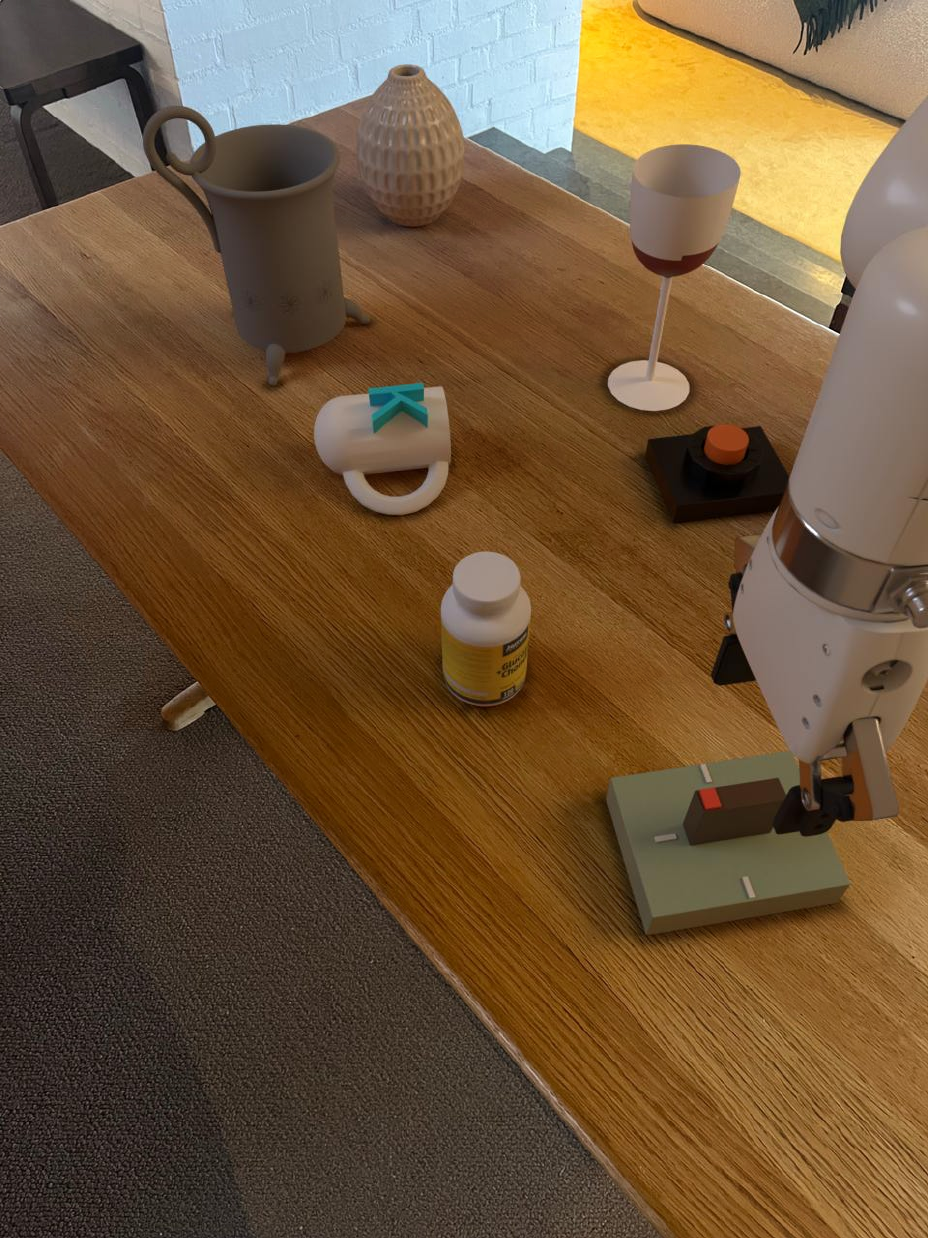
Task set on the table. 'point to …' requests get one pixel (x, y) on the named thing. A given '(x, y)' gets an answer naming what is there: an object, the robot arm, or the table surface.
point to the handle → (733, 811)
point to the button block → (715, 477)
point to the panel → (716, 850)
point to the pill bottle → (485, 630)
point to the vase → (410, 148)
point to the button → (726, 444)
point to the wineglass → (673, 248)
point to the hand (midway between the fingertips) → (767, 747)
